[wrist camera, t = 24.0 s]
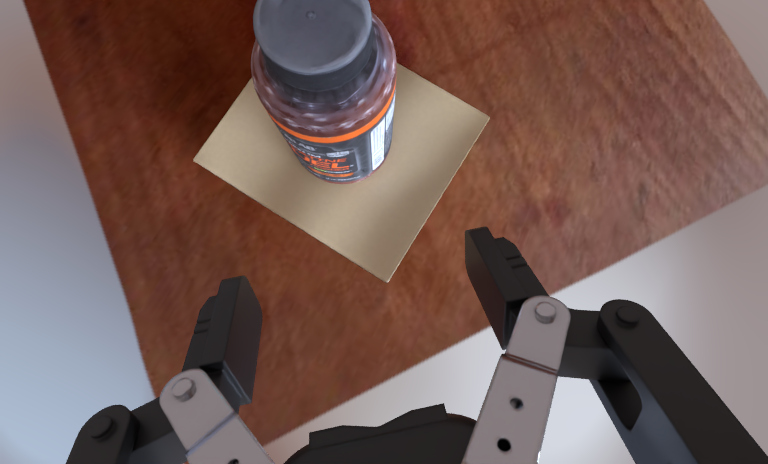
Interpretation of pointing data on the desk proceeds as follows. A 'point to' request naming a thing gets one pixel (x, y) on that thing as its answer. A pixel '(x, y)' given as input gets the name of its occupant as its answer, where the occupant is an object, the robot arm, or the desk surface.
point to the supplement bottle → (327, 83)
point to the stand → (361, 199)
